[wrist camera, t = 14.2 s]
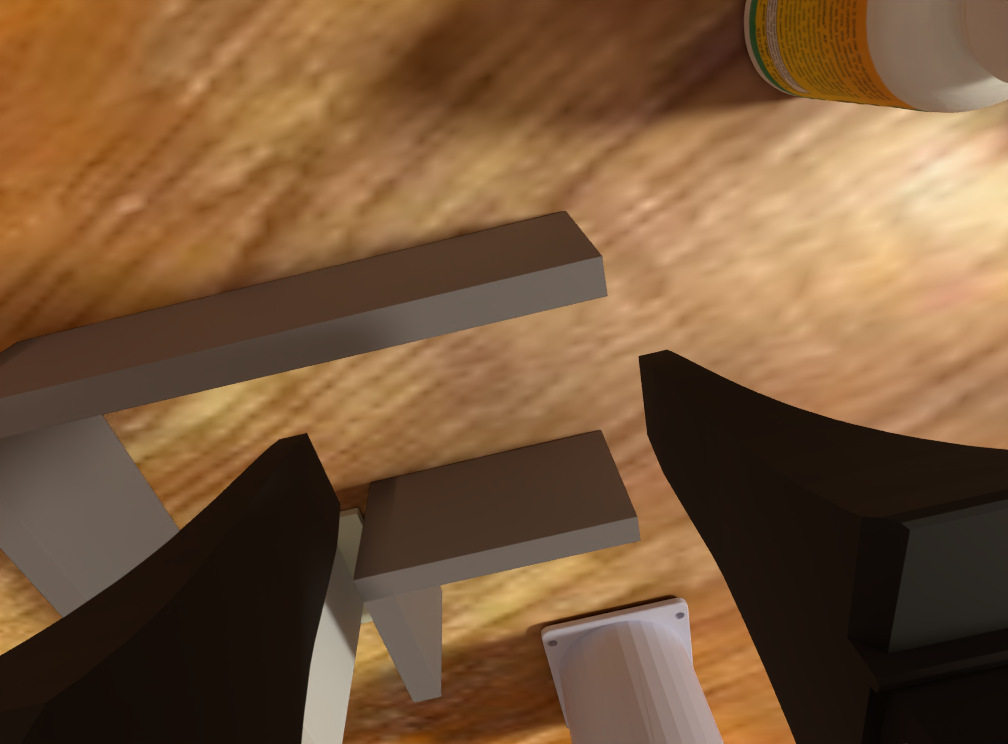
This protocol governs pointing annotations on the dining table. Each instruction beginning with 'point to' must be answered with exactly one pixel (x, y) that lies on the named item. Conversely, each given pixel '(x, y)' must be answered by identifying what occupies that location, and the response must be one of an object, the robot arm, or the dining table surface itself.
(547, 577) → the dining table surface
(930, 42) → the supplement bottle
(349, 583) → the block
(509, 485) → the rails
